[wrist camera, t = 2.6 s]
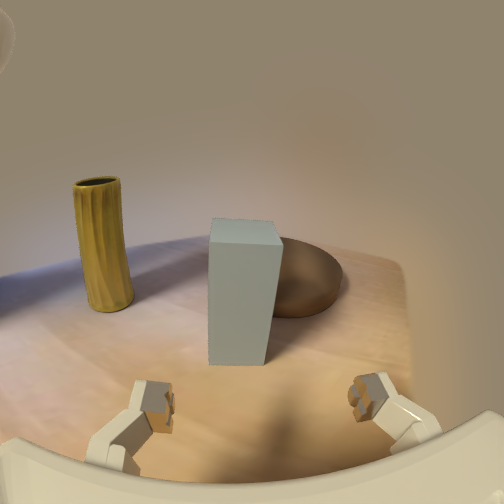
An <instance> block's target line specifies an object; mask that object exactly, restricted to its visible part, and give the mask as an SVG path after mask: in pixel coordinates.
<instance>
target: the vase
mask: <svg viewBox="0 0 504 504" xmlns="http://www.w3.org/2000/svg"><path fill="white" fill-rule="evenodd" d="M73 196H74V208H75V218H76V226H77V234H78V241H79V248H80V256H81V262H82V268H83V274H84V280H85V286H86V290H87V296H88V303H89V305H90V306H91V307H92V308H93V309H95V310H97V311H100V312H115V311H118V310H121V309H123V308H125V307H127V306H128V305H129V304H130V303H131V302H132V300H133V298H134V290H133V287H132V283H131V278H130V273H129V267H128V262H127V256H126V251H125V243H124V235H123V223H122V207H121V184H120V179H119V178H118V177H115V176H102V177H94V178H88V179H84V180H80V181H78V182H76V183H74V184H73Z"/></svg>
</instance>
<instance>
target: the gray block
mask: <svg viewBox="0 0 504 504" xmlns="http://www.w3.org/2000/svg"><path fill="white" fill-rule="evenodd" d="M283 246H284V245H283V243H282V241H281V239H280V237H279V235H278V232H277V230H276V228H275V226H274V224H273V222H272V221H258V220H242V219H223V218H213V219H212V226H211V232H210V239H209V267H208V355H209V365H234V366H260V365H264V361H265V355H266V350H267V344H268V338H269V333H270V327H271V321H272V315H273V309H274V303H275V297H276V291H277V285H278V279H279V272H280V266H281V259H282V253H283Z"/></svg>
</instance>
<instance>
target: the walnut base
mask: <svg viewBox="0 0 504 504" xmlns="http://www.w3.org/2000/svg"><path fill="white" fill-rule="evenodd" d="M280 239H281V241H282V243H283V245H284V246H283V253H282V259H281V266H280V272H279V279H278V285H277V291H276V297H275V303H274V309H273V315H272V317H280V318H298V317H306V316H310V315H314V314H317V313H320V312H322V311H324V310H325V309H327V308H328V307H330V306H331V305H332V304H333V302H334V301H335V299H336V296H337V293H338V289H339V286H340V282H341V279H342V268H341V266H340V264H339V263H338V262H337V260H336V259H335V258H333V257H332V256H331V255H330V254H328V253H327V252H325V251H324V250H322V249H320V248H318V247H315V246H313V245H311V244H308V243H305V242H301V241H298V240H294V239H289V238H282V237H280Z"/></svg>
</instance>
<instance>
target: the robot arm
mask: <svg viewBox="0 0 504 504" xmlns="http://www.w3.org/2000/svg"><path fill="white" fill-rule="evenodd" d="M14 43H15V28H14V24H13V22H12V20H11V19H10V17H9V16H8V15H6V14H5V12H4V11H3V10H2V9H1V7H0V74H1V72H2V71H3V69H4V68H5V66H6V64H7V63H8V61H9V59H10V56H11V54H12V51H13V48H14ZM353 382H354V384H353V385H352V386H351V387H350V388H349V391H348V401H349V403H350V405H351V406H352V407H354V410H353V414H354V416H355V419H356V421H357V423H358V422H363V421H367V420H372V419H373V420H372V421H373V422H375V423H376V424H377V425H378V426H379V427H380V428H382V429H383V430H384V431H385V432H386V433H387V434H389V435H390V436H391V437H392V438H393V439H395V440H396V442H395V443H394V444H393V445H392V446H391V448H390V452H391V454H392V456H389V457H386V458H383V459H380V460H377V461H373V462H370V463H367V464H363V465H360V466H356V467H352V468H348V469H344V470H340V471H336V472H331V473H327V474H322V475H316V476H311V477H304V478H298V479H291V480H282V481H272V482H260V483H238V484H215V483H193V482H181V481H171V480H163V479H156V478H149V477H143V476H140V467H139V466H138V465H137V464H136V462H135V461H134V460H133V459H132V457H133V456H134V455H135V453H136V452H137V451H138V450H139V449H140V448H141V447H142V445H143V444H144V443H145V442H146V441H147V440H148V439H149V437H150V436H151V435H152V434H153V432H157V433H168V434H172V429H173V419H172V415H173V414H174V410H175V398H174V394H173V393H172V385H171V383H163V382H155V381H148V380H139V379H137V380H136V381H135V383H134V387H133V391H132V395H131V399H130V403H129V407H128V409H124V410H123V411H122V412H120V413H119V414H118V415H117V416H116V417H115V418H113V419H112V420H111V421H110V422H109V423H108V424H106V425H105V426H104V427H103V428H102V429H100V430H99V431H98V432H97V433H96V434H94V435H93V436H92V437H91V438H90V442H89V445H88V449H87V453H86V457H85V461H84V462H82V461H78V460H75V459H72V458H70V457H67V456H64V455H61V454H59V453H56V452H53V451H51V450H48V449H46V448H44V447H41V446H39V445H37V444H35V443H32V442H30V441H28V440H26V439H24V438H21V437H14V438H12V439H10V440H8V441H6V442H4V443H3V444H1V445H0V504H504V417H503V416H501V415H500V414H498V413H496V412H494V411H492V410H485V411H483V412H481V413H480V414H478V415H477V416H475V417H473V418H471V419H470V420H468V421H466V422H464V423H463V424H461V425H459V426H457V427H455V428H453V429H451V430H450V431H448V432H446V433H444V432H443V430H442V428H441V426H440V425H439V423H438V421H437V419H436V417H435V416H434V415H433V414H432V413H430V412H428V411H427V410H425V409H423V408H422V407H420V406H419V405H417V404H415V403H414V402H412V401H410V400H409V399H407V398H406V397H404V396H402V395H398V393H397V391H396V389H395V387H394V385H393V384H392V382H391V380H390V378H389V376H388V375H387V373H386V372H385V371H382V372H378V373H371V374H366V375H360V376H357V377H355V379H354V380H353Z"/></svg>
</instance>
